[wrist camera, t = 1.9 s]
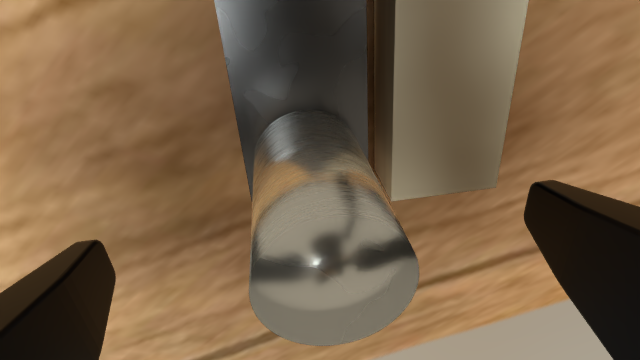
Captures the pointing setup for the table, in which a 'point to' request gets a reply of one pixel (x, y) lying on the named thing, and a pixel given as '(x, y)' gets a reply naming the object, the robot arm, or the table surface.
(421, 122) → the rail
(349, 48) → the stool leg
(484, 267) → the table surface
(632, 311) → the robot arm
